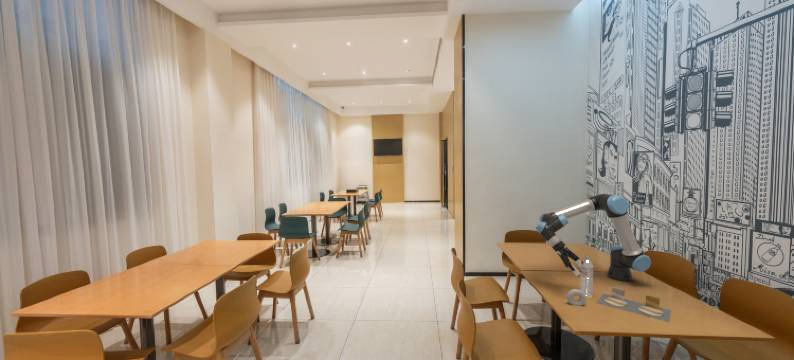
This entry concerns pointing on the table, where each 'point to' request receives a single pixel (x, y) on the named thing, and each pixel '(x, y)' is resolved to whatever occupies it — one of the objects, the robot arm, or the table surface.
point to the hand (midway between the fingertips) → (581, 272)
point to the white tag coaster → (619, 295)
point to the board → (635, 308)
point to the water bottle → (586, 277)
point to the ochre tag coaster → (651, 302)
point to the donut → (576, 302)
